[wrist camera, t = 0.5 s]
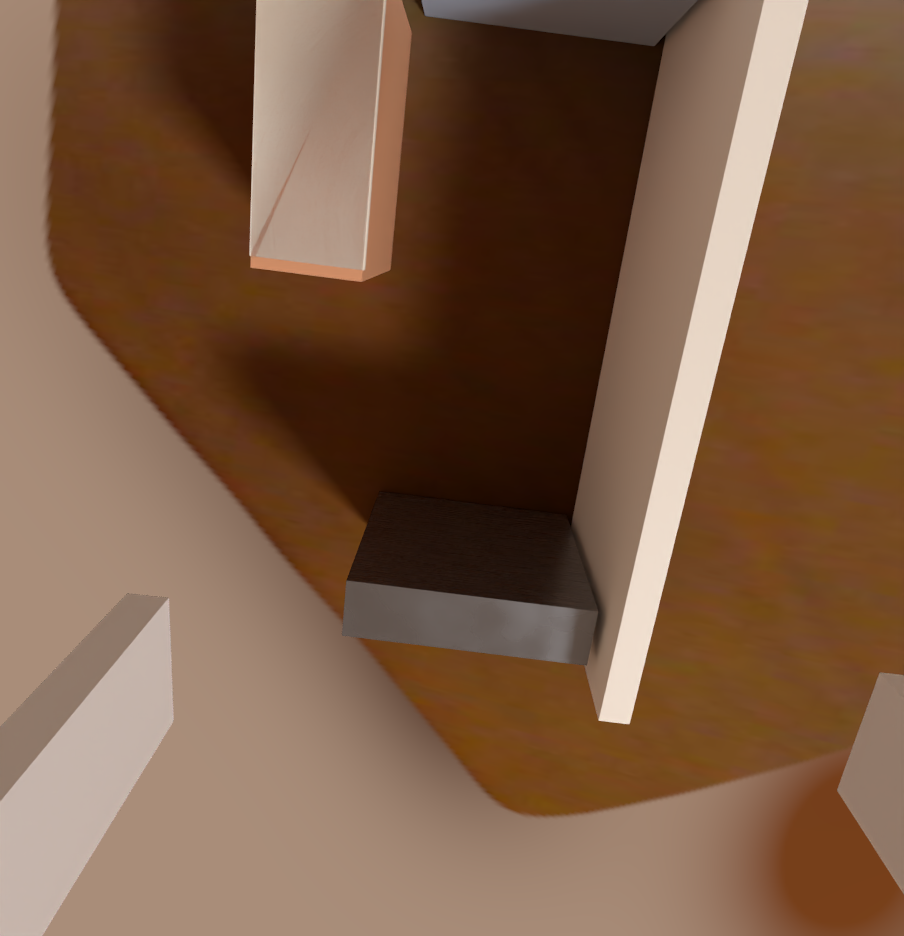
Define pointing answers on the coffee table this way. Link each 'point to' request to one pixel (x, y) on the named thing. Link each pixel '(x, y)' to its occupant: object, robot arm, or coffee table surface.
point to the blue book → (571, 16)
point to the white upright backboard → (674, 313)
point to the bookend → (470, 580)
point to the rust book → (327, 135)
